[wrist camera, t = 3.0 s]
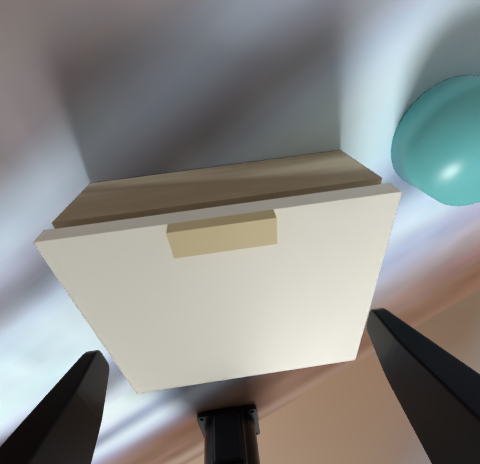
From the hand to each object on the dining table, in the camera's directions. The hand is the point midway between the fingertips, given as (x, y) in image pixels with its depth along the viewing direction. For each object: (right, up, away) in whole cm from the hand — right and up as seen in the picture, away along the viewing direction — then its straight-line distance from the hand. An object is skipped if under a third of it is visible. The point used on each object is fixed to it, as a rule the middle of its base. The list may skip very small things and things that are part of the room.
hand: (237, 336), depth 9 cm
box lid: (0, 0, +5) cm, 5 cm away
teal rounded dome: (+12, +9, +7) cm, 16 cm away
